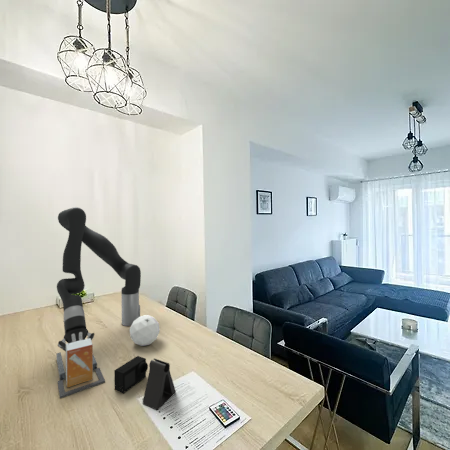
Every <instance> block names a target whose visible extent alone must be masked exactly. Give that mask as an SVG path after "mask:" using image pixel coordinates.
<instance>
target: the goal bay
mask: <svg viewBox="0 0 450 450" xmlns="http://www.w3.org/2000/svg"><path fill="white" fill-rule="evenodd" d="M94 371H95V373H96V376H97V379H98V380H96V381H93V382H91V383H87V384H85V385H82V386H79V387H76V388H74V389H70V390H68V391H65V385H64V380H63V379H62V380H60V379H59V380H57V387H58V388H57V389H58V395H59V399H62V398H65V397H67V396H71V395H73V394H77V393H79V392H82V391H85V390H87V389H91V388H93V387H95V386H99V385H101V384H103V383H106V380H105V377H104V375H103V372H102V370H101V368H100V367H97V369H95V370H94Z"/></svg>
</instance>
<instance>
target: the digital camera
mask: <svg viewBox="0 0 450 450" xmlns="http://www.w3.org/2000/svg"><path fill="white" fill-rule="evenodd" d="M148 369H149V365H148V363H147V358H145V357H142V356H139V355H137V356H135V357H134V358H132V359H130V360H128V361H127V362H126V363H123V364H122V365H120V366H119V367H117V368H116V369H114V379H113V381H114V382H113V383H114V390H115V391H116V392H118V393H121V394H125V393H127V391H129V390H131V389H132V388H133V387H134V386H136V385H137V384H139V383H140V382H141V381H143V380H144V379H145V378H146V377H147V371H148Z"/></svg>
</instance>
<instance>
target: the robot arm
mask: <svg viewBox="0 0 450 450" xmlns="http://www.w3.org/2000/svg"><path fill="white" fill-rule="evenodd" d="M57 221H58V223H59V225H60V226H61V227H63V229H65V230H66V231H68V238H67V241H66V243H65V248H64V251H63V254H62V272H63V273H65V274H71V275H73V276H74V277H69V278H61V279H59V280H58V282H57V284H56V291H57V293H58V295H59V297H60V299H61V302H62V304H63V305H62V308H63V327H64V335H63V338H62V339H61V340H59V341H58V343H57V346H58V348H60V349H61V350H62V351H64V352H65V353H66V344H68V343H72V342H76V341H80V340H85V339H89V338H91V341H93V340H94V338H95V333H94V332H92V333H91V332H90V331H89V330H88V328H87V324H86V323H87V322H86V315H85V310H84V306H83V304H84V303H83V298H82V296H81V295H78V294H81V293H82V292H83V291H84V289H85V286H86V285H85V280H84V278H83V275H82V271H81V270H82V269H81V265H82V264H81V261H82V255H81V253H82V245H83V244H84V245H85V246H86V247H87V248H89V249H90V250H91V251H92V252H93V253H94V254H95V255H96V256H97V257H98V258H99V259H100V260H102V261H103V262H104V263H106V264H107V265H108V266H109V267H111V268H112V270H113V271H114V272H115V273H116V274H117V275H118V276H119V277H120V278H121V279H122V280H124V283H125V284H124V286H123V287H121V291H120V293H121V325H122V326H124V327H125V326H126V327H128V326H129V327H131V325H132V323H133V321H134V320H136V319H137V318H139V317H140V316H141V305H140V287H141V281H142V280H141V278H142V277H141V275H142V274H141V273H142V272H141V267H139V265H137V264H132V263H129V262H128V261H126V260H125V259H124V258H123V257H121V255H120V254H119V252H118V250H117V248H116V246H115V245H114V244H113V243H112V242H111V241H110V240H109V239H108V238H107V237H106V236H104V235H102V234H101V233H98V232H96V231H94V230H93V229H91V228H89V227H88V226H87V225H86V223H87V213H86V212H85V210H84V209H82V208H81V207H77V206H75V207H71V208H67V209H64V210H62V211H60V212H59V213H58V216H57Z"/></svg>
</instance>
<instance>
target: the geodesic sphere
mask: <svg viewBox="0 0 450 450" xmlns="http://www.w3.org/2000/svg"><path fill="white" fill-rule="evenodd" d="M160 331H161V330H160V322H158V320H157V319H156V318H155V317H154V316H152V315H150V314H144V315H140V317H139V318H137V319H136V320H134V321H133V323H132V325H131V326H129V336H130V339H131V341H132V342H133V343H134V344H136V345H138V346H141V347H145V346H149V345H151V344H152V343H153V342H155V341H157V339H158V336H159V334H160Z"/></svg>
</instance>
